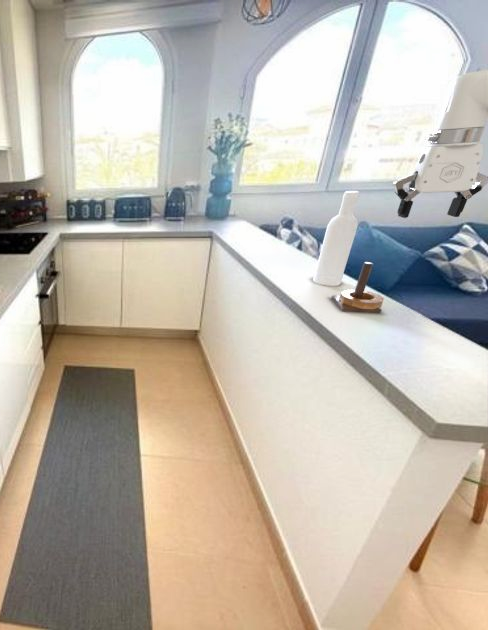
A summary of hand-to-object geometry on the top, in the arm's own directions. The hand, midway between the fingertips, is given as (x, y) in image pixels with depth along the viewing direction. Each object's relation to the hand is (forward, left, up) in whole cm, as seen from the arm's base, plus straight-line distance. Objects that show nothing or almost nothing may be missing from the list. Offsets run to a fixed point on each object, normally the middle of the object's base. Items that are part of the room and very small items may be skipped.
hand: (427, 216), depth 84 cm
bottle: (+8, -25, -27) cm, 37 cm away
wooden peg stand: (+7, -5, -27) cm, 28 cm away
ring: (+5, -5, -26) cm, 27 cm away
